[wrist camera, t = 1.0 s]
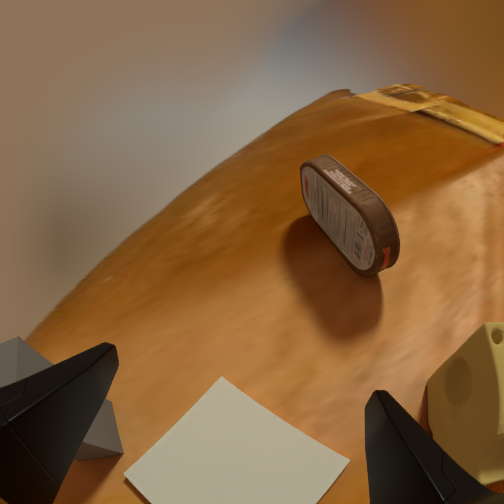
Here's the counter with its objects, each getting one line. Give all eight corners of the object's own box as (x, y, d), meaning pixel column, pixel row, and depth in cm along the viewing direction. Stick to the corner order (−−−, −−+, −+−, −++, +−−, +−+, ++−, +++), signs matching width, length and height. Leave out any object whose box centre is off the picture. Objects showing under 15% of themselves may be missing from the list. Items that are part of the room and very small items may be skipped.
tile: (243, 570, 10) (241, 573, 10) (128, 474, 16) (123, 473, 16) (348, 460, 16) (350, 460, 15) (223, 379, 22) (221, 376, 21)
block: (123, 453, 18) (16, 414, 9) (79, 460, 17) (-28, 421, 8) (111, 402, 21) (18, 336, 12) (70, 412, 20) (-24, 353, 11)
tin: (390, 283, 26) (413, 218, 20) (366, 296, 26) (385, 230, 20) (317, 200, 37) (318, 141, 31) (296, 207, 36) (294, 147, 30)
